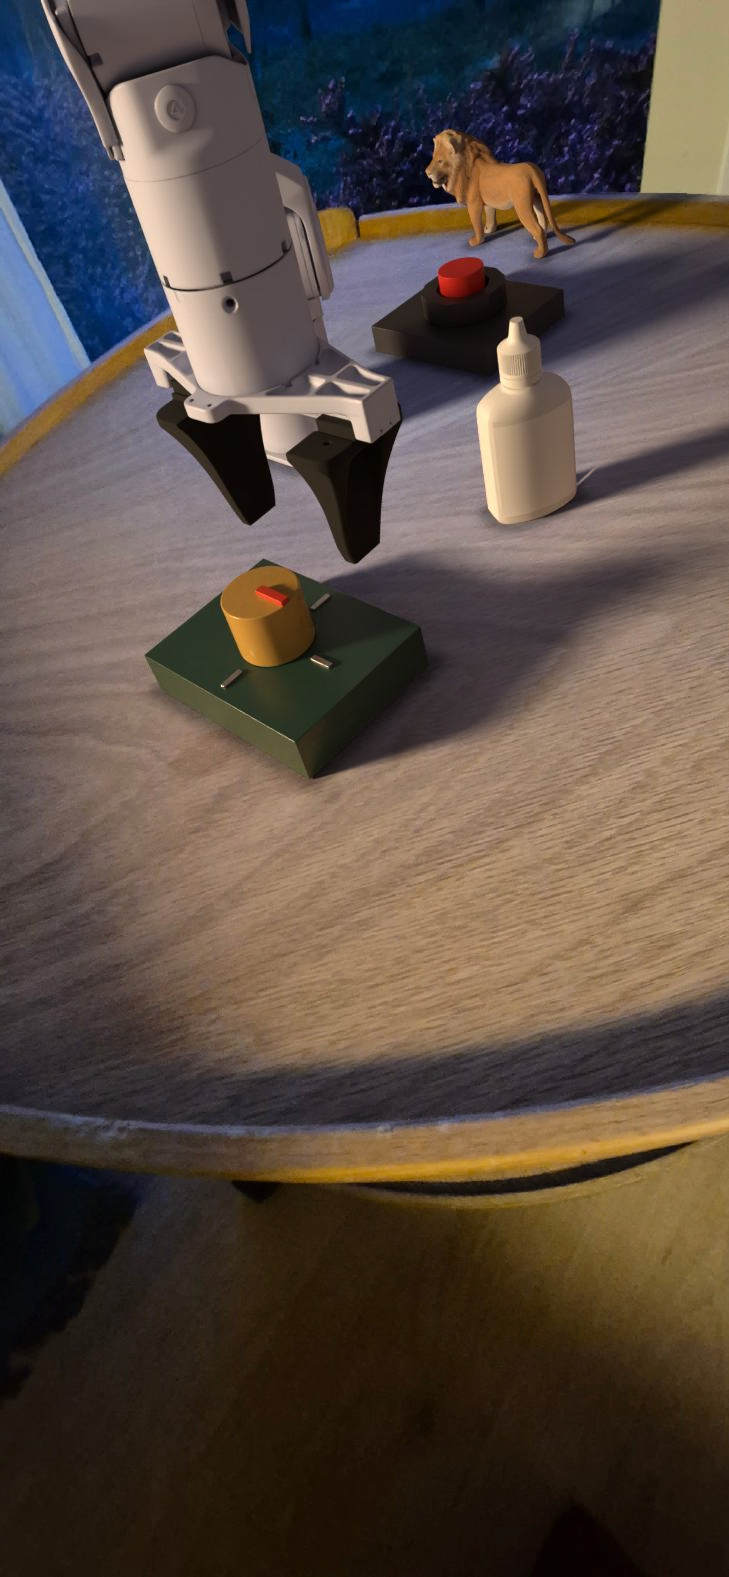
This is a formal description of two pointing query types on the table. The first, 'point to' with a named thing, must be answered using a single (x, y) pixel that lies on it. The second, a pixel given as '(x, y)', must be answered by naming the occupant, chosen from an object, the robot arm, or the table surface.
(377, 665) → the control panel
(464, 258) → the red button
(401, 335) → the button box
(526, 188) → the lion figurine
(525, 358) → the eye dropper bottle
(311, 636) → the dial knob
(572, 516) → the table surface
